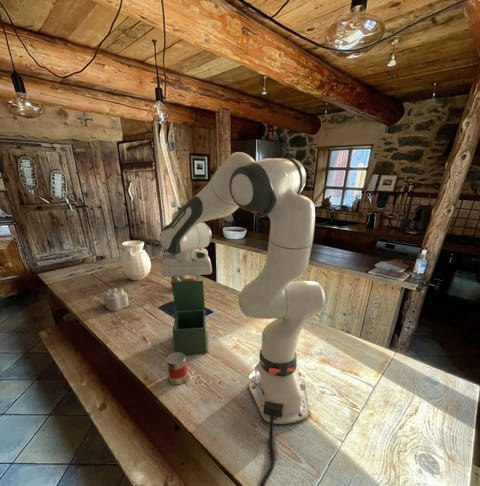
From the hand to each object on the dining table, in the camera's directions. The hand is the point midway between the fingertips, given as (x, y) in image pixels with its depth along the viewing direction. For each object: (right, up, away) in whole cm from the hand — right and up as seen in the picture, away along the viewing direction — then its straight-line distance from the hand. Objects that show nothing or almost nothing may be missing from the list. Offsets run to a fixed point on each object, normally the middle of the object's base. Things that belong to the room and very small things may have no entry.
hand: (188, 284), depth 111 cm
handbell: (-10, -4, +53) cm, 54 cm away
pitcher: (-49, +6, +74) cm, 89 cm away
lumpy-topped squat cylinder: (-47, -11, +36) cm, 61 cm away
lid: (0, -5, 0) cm, 5 cm away
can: (-1, -34, -15) cm, 37 cm away
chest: (+1, -25, +4) cm, 26 cm away
